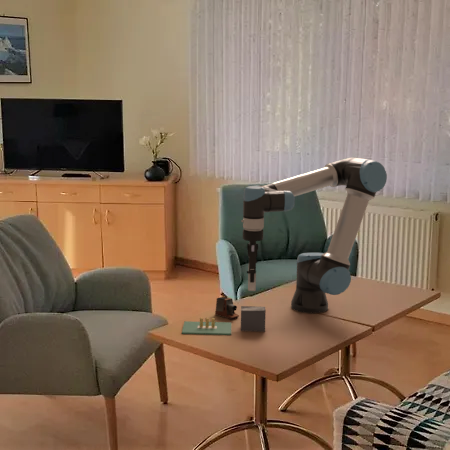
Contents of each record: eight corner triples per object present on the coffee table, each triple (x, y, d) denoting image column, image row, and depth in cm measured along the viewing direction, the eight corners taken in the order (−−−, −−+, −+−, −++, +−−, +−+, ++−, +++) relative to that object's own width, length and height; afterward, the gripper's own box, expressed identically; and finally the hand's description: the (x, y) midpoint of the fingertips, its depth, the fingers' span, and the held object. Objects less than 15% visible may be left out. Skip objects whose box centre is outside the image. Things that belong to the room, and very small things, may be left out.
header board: (231, 323, 260) (231, 313, 259) (231, 335, 248) (231, 324, 247) (184, 322, 260) (184, 312, 259) (181, 333, 248) (181, 323, 247)
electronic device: (231, 320, 263) (231, 302, 262) (214, 315, 270) (214, 296, 269) (239, 318, 266) (239, 300, 265) (222, 312, 273) (222, 294, 272)
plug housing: (264, 326, 257) (265, 306, 255) (265, 331, 252) (265, 310, 251) (240, 326, 257) (241, 306, 256) (240, 330, 252) (241, 310, 251)
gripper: (243, 222, 260) (241, 275, 264) (242, 235, 236) (241, 294, 240) (262, 222, 260) (261, 276, 264) (264, 236, 235) (262, 295, 239)
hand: (251, 285), depth 252 cm, fingers open, 13 cm apart
